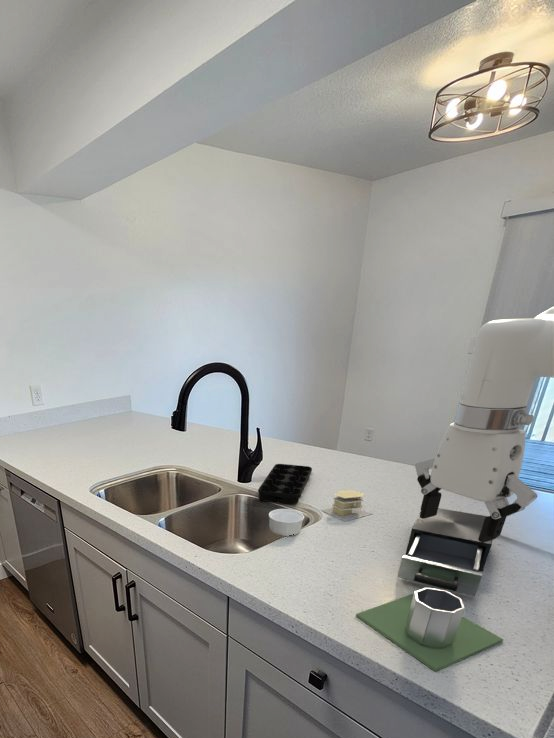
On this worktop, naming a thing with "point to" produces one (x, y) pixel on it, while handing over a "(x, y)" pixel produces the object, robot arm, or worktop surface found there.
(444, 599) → the cup
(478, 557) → the drawer
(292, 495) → the egg carton
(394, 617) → the mat
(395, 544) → the worktop surface
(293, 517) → the ramekin
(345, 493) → the stacked layers on plate
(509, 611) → the worktop surface
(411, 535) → the box
